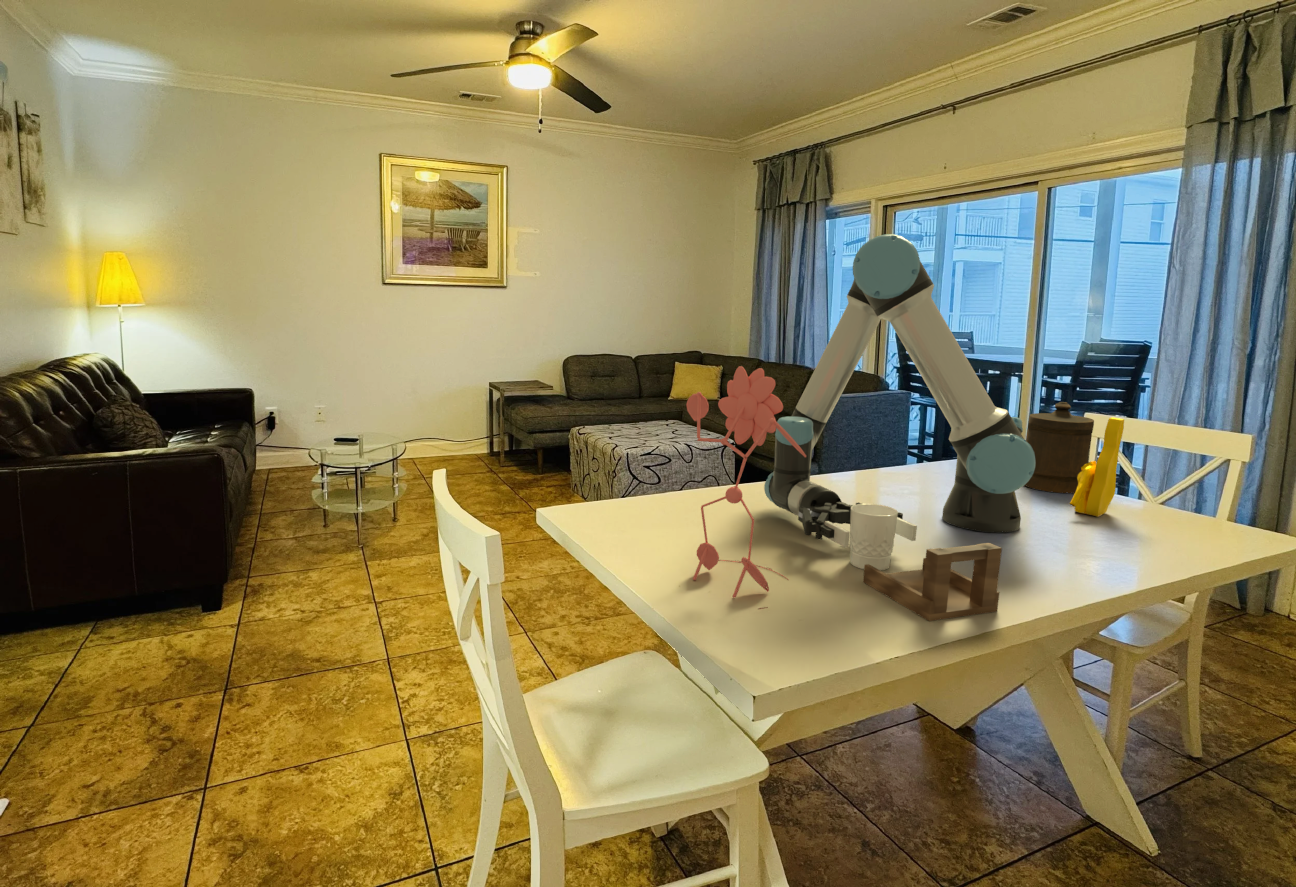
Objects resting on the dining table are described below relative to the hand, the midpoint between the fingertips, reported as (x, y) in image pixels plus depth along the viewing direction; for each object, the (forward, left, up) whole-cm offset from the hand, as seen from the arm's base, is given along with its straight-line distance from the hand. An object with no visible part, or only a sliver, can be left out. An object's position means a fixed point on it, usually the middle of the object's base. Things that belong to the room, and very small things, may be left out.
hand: (881, 536), depth 128 cm
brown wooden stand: (-5, +11, -6) cm, 14 cm away
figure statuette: (-56, -45, -6) cm, 72 cm away
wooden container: (-58, -71, -6) cm, 92 cm away
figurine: (+23, +9, -6) cm, 26 cm away
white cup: (+1, -3, -6) cm, 7 cm away
